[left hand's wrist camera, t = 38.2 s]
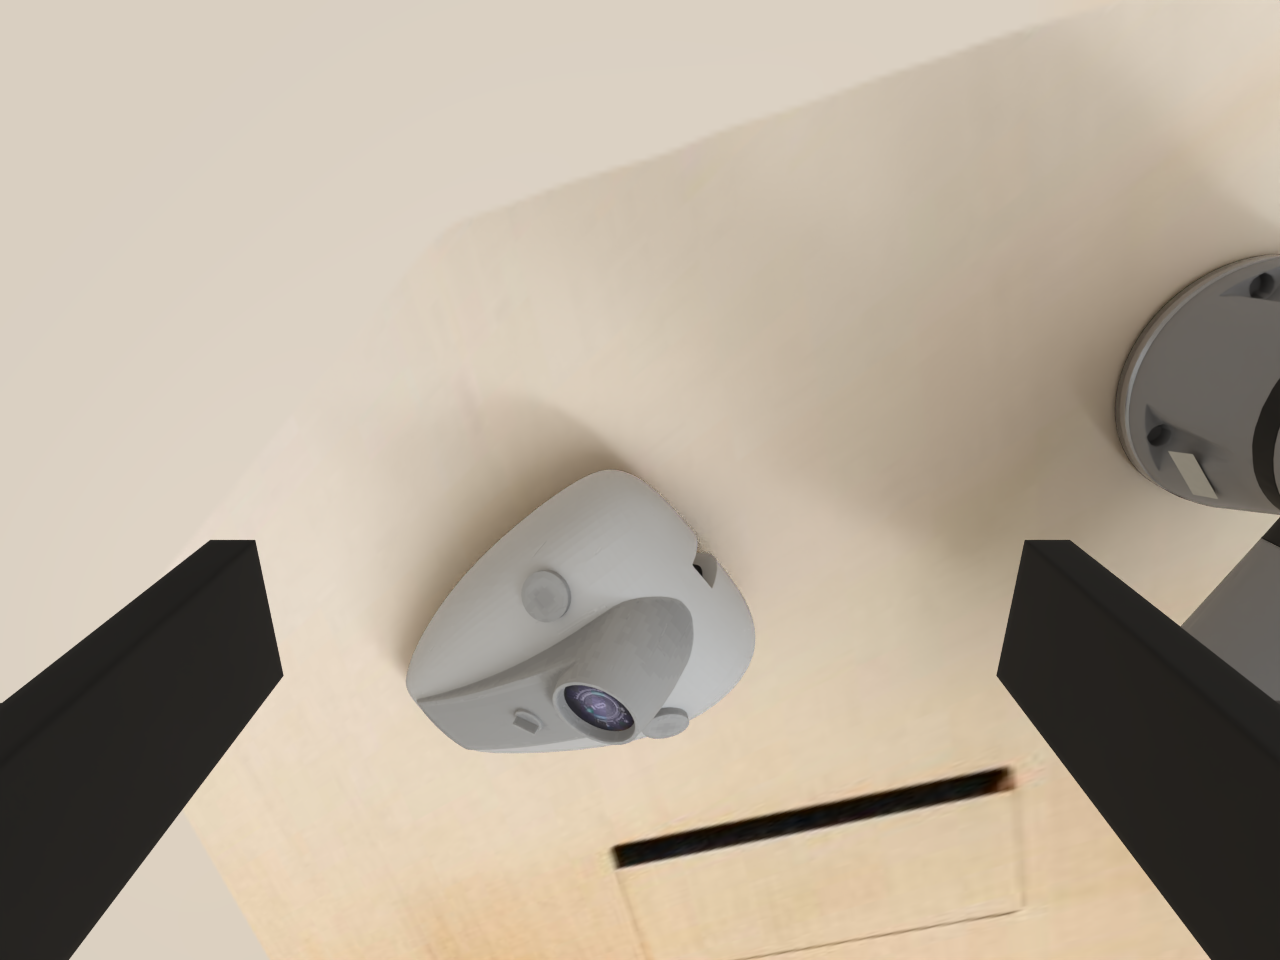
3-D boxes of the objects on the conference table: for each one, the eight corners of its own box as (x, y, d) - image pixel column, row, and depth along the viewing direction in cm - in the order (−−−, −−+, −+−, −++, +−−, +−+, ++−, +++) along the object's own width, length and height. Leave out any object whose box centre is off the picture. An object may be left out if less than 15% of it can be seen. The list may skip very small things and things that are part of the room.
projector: (407, 435, 46) (309, 533, 32) (765, 461, 47) (818, 568, 33) (419, 719, 54) (344, 895, 40) (725, 738, 55) (754, 917, 41)
